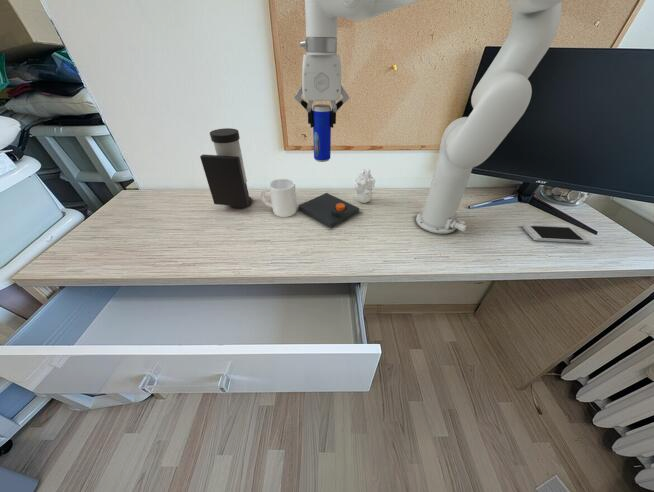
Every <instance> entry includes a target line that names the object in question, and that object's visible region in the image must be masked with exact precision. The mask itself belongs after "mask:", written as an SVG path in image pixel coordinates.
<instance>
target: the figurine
mask: <svg viewBox="0 0 654 492" xmlns="http://www.w3.org/2000/svg"><path fill="white" fill-rule="evenodd" d="M355 178H356V179H355V182H356V183H355V184H354V185H355V199H356V201H358V202H359V203H361V204H366V203H368V202H370V201H371V199H372V198H373V189H374V188H375V184H376V179H375V178H374V177H373V176H372V174H371V170H370V169H367V170H366V169H364V168H363V169H362V170H361V172H360V173H358V174H357V176H356V177H355Z"/></svg>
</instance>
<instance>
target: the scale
mask: <svg viewBox="0 0 654 492" xmlns="http://www.w3.org/2000/svg"><path fill="white" fill-rule="evenodd" d="M338 203H343V204H345V210H344V211H337V210H336V204H338ZM297 210H298V211H299V212H301V213H303V214H305V215H306V216H308V217H309V218H311V219H313V220H315V221H317V222H319V223H321V224H322V225H324V226H325V227H327V228H329V229H332V228H334V227H336V226H338V225H340V224H342V223H343V222H345V221H347V220H348V219H350V218H352V217H354V216H355V215H357V214H359V213H360V207H358V206H356V205H354V204H352V203H349V202H347V201H345V200H343V199H341V198H339V197H336V196H334V195H332V194H330V193H329V192H325V193H323V194H321V195H319V196H316V197H313V198H311V199H309V200H307V201H305V202H302V203H300V204H297Z"/></svg>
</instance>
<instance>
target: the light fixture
mask: <svg viewBox="0 0 654 492" xmlns="http://www.w3.org/2000/svg"><path fill="white" fill-rule="evenodd" d="M209 136H210V141H211V142H212V143H213V146H214V149H215V154H201V155H200V156H199V159H200V161H201V165H202V168H203V171H204V175H205V178H206V182H207V185H208V188H209V191H210V194H211V197H212V200H213V204H214V205H219V206H220V205H221V206H229V208H231V209H237V210H238V209H245V208H248V207H249V206H251V205H252V203H253V200H252V197H251V196H250V195H249V190H248V184H247V182H248V179H247V174H246V170H245V164H244V159H243V154H242V148H241V145H240V139H241V137H240V132H239V130H238V129H236V128H230V127H224V128H217V129H213V130H211V131H210V132H209Z"/></svg>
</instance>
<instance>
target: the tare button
mask: <svg viewBox="0 0 654 492" xmlns="http://www.w3.org/2000/svg"><path fill="white" fill-rule="evenodd" d="M336 210H337V211H344V210H345V204H343V203H338V204H336Z"/></svg>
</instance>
